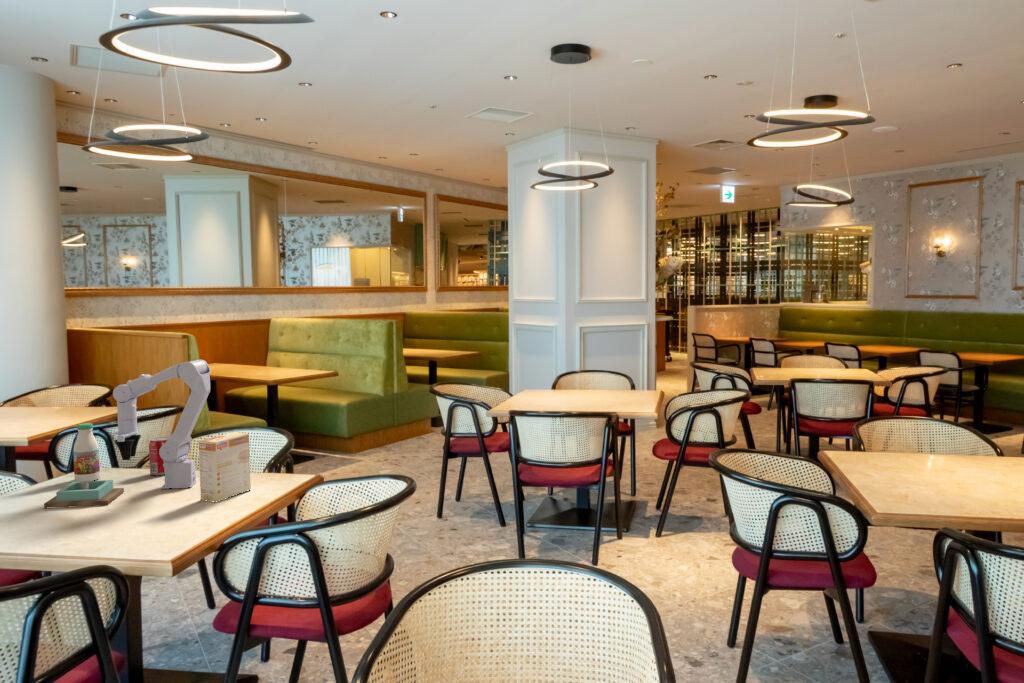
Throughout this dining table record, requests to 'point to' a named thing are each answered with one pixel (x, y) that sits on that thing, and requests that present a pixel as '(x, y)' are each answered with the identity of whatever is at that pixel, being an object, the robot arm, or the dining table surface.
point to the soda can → (156, 455)
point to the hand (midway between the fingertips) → (128, 458)
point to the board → (85, 486)
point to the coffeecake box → (224, 466)
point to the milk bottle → (86, 454)
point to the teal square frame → (84, 491)
